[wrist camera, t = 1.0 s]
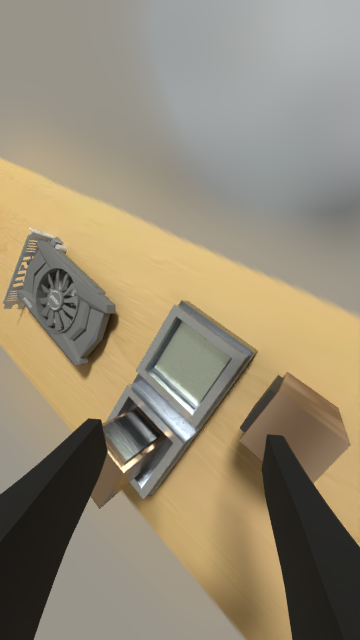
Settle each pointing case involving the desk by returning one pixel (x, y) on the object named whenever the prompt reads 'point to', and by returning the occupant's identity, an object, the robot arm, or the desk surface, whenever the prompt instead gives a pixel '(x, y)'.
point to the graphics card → (61, 297)
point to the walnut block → (297, 425)
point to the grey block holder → (169, 400)
